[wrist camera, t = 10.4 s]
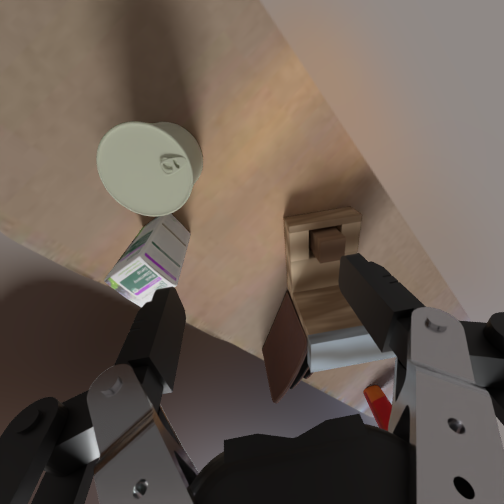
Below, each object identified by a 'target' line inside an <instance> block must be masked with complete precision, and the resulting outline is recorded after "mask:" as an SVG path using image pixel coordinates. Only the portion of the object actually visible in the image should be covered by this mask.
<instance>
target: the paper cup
mask: <svg viewBox="0 0 504 504" xmlns="http://www.w3.org/2000/svg"><path fill="white" fill-rule="evenodd" d="M363 393H364V395H365V398H366V400H367V402H368V404H369V406H370V409H371V411H372V413H373V415H374V417H375V420H376V422H377V424H378V426H379V428H381V429H384V430H386V431H388V425H389V419H390V415H391V410H392V405H391V403H390V402H389V400H388V399H387V397H386V396H385V394H384V393H383V391H382V390H381V388H380V387H379V386H377V385H373V386H370V387H368V388H366V389H365V390H364V392H363Z"/></svg>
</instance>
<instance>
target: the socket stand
mask: <svg viewBox="0 0 504 504" xmlns="http://www.w3.org/2000/svg"><path fill="white" fill-rule="evenodd" d="M283 219H284V236H285V252H286V268H287V285H288V290H289V292H290V295H291V298H292V300H293V303H294V305H295V308H296V310H297V313H298V316H299V318H300V321H301V323H302V326H303V329H304V331H305V334H306V336H307V339H308V366H309V369H310V372H311V373H312V372H317V371H322V370H328V369H333V368H339V367H344V366H350V365H355V364H360V363H366V362H371V361H377V360H382V359H387V358H393V357H397V356H396V355H395V354H394V352H393V351H389V352H384V353H382V352H381V351H380V349H379V348H378V346H377V345H376V344H375V342H374V341H373V339H372V338H371V336H370V335H369V333H368V332H367V330H366V329H365V327H364V326H363V324H362V323H361V321H360V320H359V318H358V317H357V315H356V314H355V312H354V311H353V309H352V308H351V306H350V305H349V303H348V302H347V300H346V299H345V298H344V296H343V295H342V293H341V291H340V288H339V283H338V280H339V268H340V260H338V261H332V262H326V263H321V264H320V263H319V261H318V260H317V258H316V257H315V255H314V254H313V253H312V251H311V250H310V248H309V230H313V229H319V228H325V227H331V226H334V227H335V228H336V229H337V230H338V231H339V232H341V233H342V234H343V235H344V236H345V237H346V245H345V255H350V254H356V253H357V250H358V243H359V235H360V228H361V220H362V214H361V213H359V212H358V211H356V210H355V209H353V208H351V207H345V208H339V209H333V210H327V211H320V212H314V213H308V214H302V215H296V216H290V217H284V218H283Z"/></svg>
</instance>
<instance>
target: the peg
mask: <svg viewBox="0 0 504 504" xmlns="http://www.w3.org/2000/svg"><path fill="white" fill-rule="evenodd" d="M345 245H346V237H345V236H344V235H343V234H342V233H341V232H339V231H338V230H337V229H336V228H335V227H334V226H331V227H325V228H319V229H313V230H309V248H310V250H311V251H312V253H313V254H314V255H315V257H316V258H317V260H318V261H319V263H320V264H321V263H326V262H332V261H338V260H340V259H341V257H342V256H345Z"/></svg>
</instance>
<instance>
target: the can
mask: <svg viewBox="0 0 504 504" xmlns="http://www.w3.org/2000/svg"><path fill="white" fill-rule="evenodd" d="M96 158H97V169H98V173H99V176H100V178H101V181H102V183H103V185H104V186H105V188H106V189H107V191H108V192H109V193H110V195H111V196H112V197H113V198H114V199H115V200H116V201H117V202H118V203H120V204H121V205H122V206H124V207H125V208H127V209H129V210H131V211H133V212H135V213H138V214H141V215H145V216H164V215H168V214H171V213H173V212H175V211H177V210H178V209H179V208H181V207H182V206H183V205H184V204H185V202H186V201H187V200H188V198H189V196H190V194H191V191H192V188H193V185H194V183H195V182H196V181H197V180H198V178H199V176H200V174H201V172H202V167H203V157H202V152H201V149H200V147H199V144H198V143H197V141H196V139H195V138H194V137H193V136H192V135H191V134H190V133H189V132H188V131H187V130H186V129H184V128H183V127H181V126H179V125H177V124H174V123H170V122H158V123H146V122H139V121H131V122H125V123H121V124H119V125H116V126H115V127H113V128H111V129H110V130H109V131H108V132H107V133H106V134H105V135H104V137H103V138H102V139H101V141H100V144H99V146H98V150H97V157H96Z"/></svg>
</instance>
